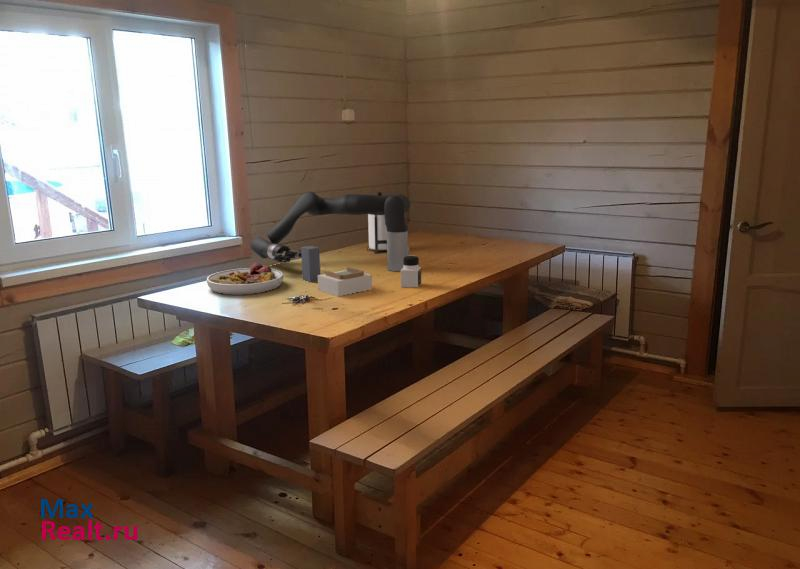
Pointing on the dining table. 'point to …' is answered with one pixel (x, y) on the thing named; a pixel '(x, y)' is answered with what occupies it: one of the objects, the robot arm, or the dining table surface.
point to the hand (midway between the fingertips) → (298, 258)
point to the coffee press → (377, 230)
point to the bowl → (245, 280)
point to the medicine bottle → (411, 272)
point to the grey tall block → (310, 263)
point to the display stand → (344, 282)
